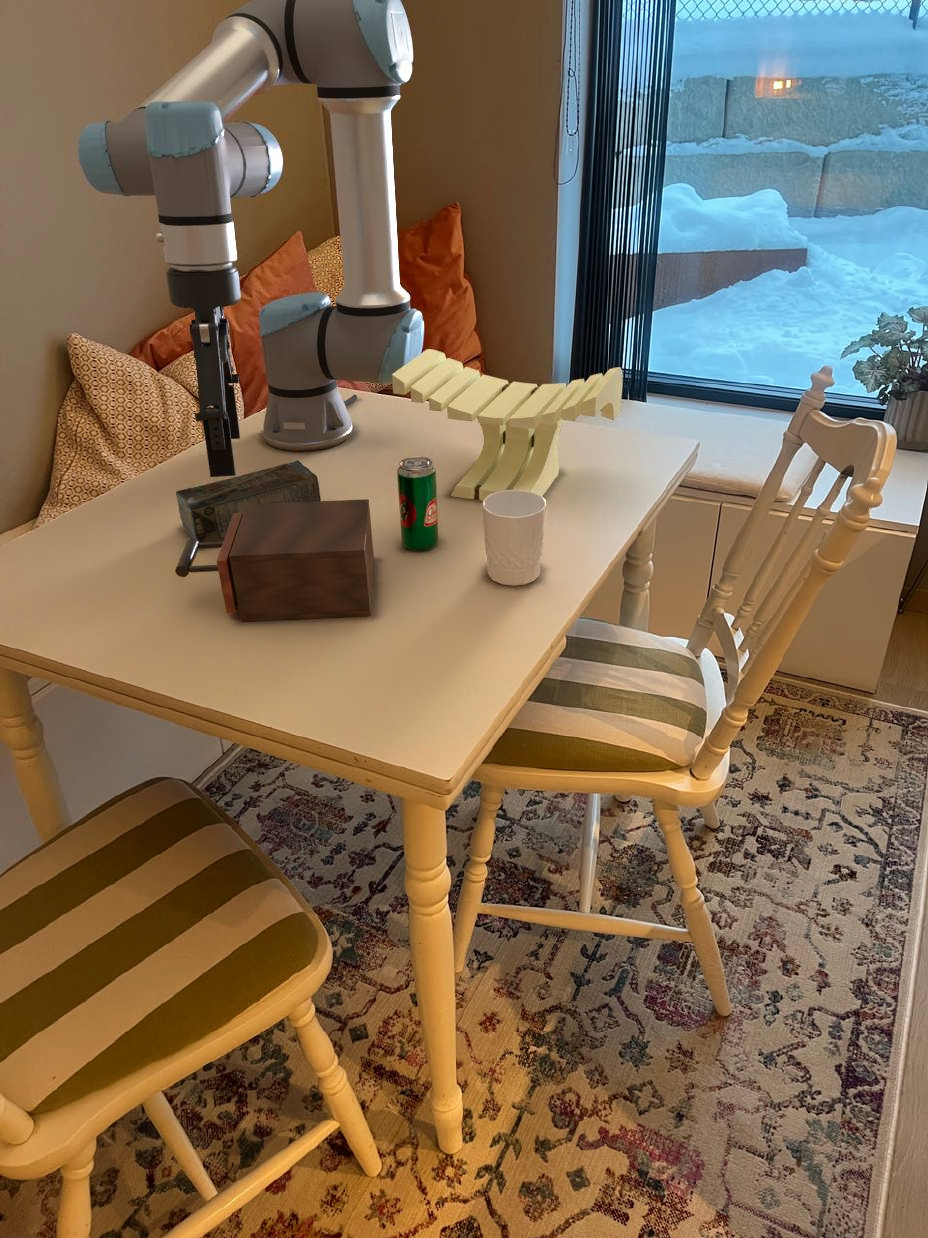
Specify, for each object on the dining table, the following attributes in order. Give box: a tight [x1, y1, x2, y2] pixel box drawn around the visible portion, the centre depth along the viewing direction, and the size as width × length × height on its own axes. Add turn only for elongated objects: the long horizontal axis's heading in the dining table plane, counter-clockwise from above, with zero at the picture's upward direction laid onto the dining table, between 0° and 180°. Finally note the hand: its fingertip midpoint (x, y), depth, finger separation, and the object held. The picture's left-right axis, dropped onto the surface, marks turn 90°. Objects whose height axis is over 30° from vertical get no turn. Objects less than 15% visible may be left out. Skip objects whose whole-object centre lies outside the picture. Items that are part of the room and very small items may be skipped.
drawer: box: [174, 513, 243, 614], centre depth 116 cm, size 20×12×7 cm, turn 93°
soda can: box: [396, 456, 439, 552], centre depth 125 cm, size 5×5×12 cm
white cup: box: [481, 490, 547, 587], centre depth 118 cm, size 8×8×10 cm
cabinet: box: [229, 498, 375, 623], centre depth 116 cm, size 16×14×9 cm
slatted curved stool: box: [392, 348, 624, 502], centre depth 140 cm, size 30×16×18 cm, turn 68°
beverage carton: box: [175, 460, 322, 543], centre depth 133 cm, size 8×19×7 cm, turn 121°
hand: (226, 456), depth 110 cm, fingers open, 13 cm apart
